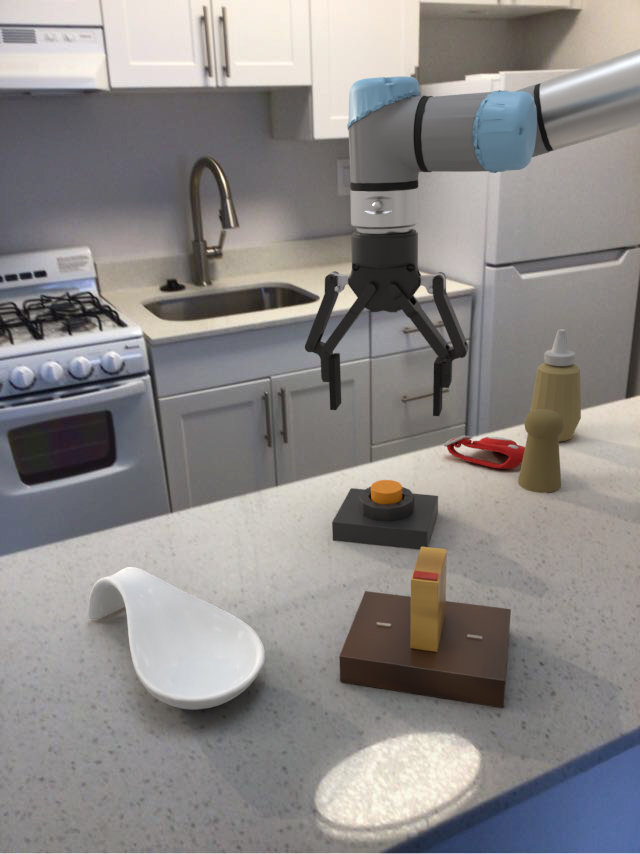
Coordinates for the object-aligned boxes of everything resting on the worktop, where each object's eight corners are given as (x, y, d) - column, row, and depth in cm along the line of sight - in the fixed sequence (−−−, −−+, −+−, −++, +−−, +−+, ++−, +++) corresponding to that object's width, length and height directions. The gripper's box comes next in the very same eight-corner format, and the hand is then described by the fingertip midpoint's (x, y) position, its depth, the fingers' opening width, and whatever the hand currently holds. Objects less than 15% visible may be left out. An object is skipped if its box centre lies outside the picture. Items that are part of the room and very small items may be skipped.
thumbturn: (420, 611, 76) (421, 544, 73) (445, 614, 75) (446, 546, 73) (410, 648, 71) (410, 577, 68) (437, 652, 70) (438, 580, 67)
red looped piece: (506, 436, 123) (543, 443, 114) (502, 463, 123) (540, 472, 114) (440, 430, 119) (473, 437, 110) (437, 458, 119) (469, 467, 110)
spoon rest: (291, 682, 71) (287, 618, 69) (190, 753, 64) (182, 684, 61) (150, 590, 87) (142, 535, 84) (55, 637, 79) (43, 579, 77)
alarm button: (404, 493, 99) (404, 481, 98) (399, 507, 95) (399, 494, 94) (374, 490, 100) (374, 478, 99) (368, 504, 96) (367, 491, 95)
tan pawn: (509, 483, 109) (513, 412, 105) (533, 471, 113) (538, 401, 109) (545, 497, 105) (551, 423, 101) (569, 483, 109) (576, 411, 105)
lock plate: (509, 633, 77) (511, 607, 76) (503, 708, 67) (505, 679, 66) (365, 614, 81) (365, 589, 80) (340, 682, 71) (338, 654, 70)
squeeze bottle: (531, 425, 130) (538, 322, 124) (580, 430, 127) (590, 325, 121) (525, 442, 123) (532, 335, 117) (577, 447, 120) (587, 337, 114)
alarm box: (437, 513, 102) (438, 483, 100) (427, 551, 93) (427, 518, 91) (351, 505, 105) (350, 476, 103) (332, 540, 96) (331, 509, 94)
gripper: (271, 233, 85) (282, 414, 93) (492, 232, 78) (484, 426, 86) (291, 225, 92) (300, 394, 99) (496, 223, 85) (488, 404, 93)
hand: (385, 409), depth 93 cm, fingers open, 12 cm apart
